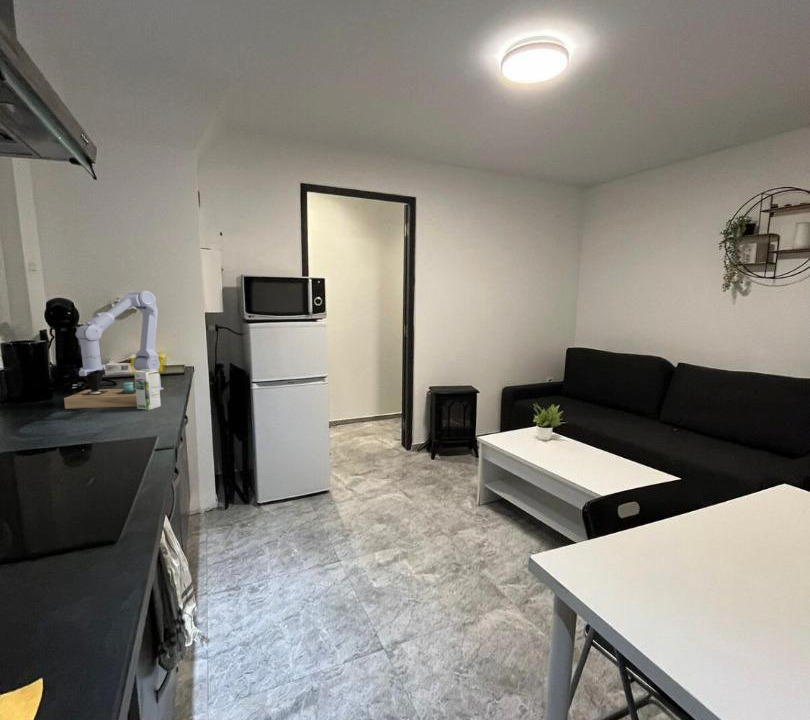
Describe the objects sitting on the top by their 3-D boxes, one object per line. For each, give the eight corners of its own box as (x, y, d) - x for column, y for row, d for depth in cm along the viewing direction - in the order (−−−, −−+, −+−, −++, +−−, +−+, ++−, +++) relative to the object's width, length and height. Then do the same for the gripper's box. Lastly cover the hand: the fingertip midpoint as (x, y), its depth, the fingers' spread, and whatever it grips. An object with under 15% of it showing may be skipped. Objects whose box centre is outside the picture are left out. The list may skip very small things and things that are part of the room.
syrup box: (136, 409, 154) (133, 371, 152) (150, 405, 160) (147, 368, 158) (148, 410, 153) (144, 372, 151) (161, 406, 158) (158, 369, 156)
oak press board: (86, 399, 168) (85, 389, 167) (156, 397, 172) (155, 387, 172) (65, 408, 154) (63, 397, 153) (141, 406, 159) (140, 394, 158)
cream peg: (93, 402, 163) (92, 391, 163) (103, 401, 164) (102, 391, 163) (89, 404, 160) (87, 393, 159) (98, 403, 161) (97, 393, 160)
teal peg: (126, 392, 165) (125, 382, 164) (135, 392, 166) (134, 381, 165) (122, 394, 162) (121, 383, 161) (131, 393, 162) (130, 383, 162)
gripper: (90, 354, 165) (94, 386, 168) (68, 359, 151) (72, 395, 154) (109, 353, 167) (113, 386, 169) (89, 359, 153) (93, 394, 155)
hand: (95, 390), depth 161 cm, fingers closed
